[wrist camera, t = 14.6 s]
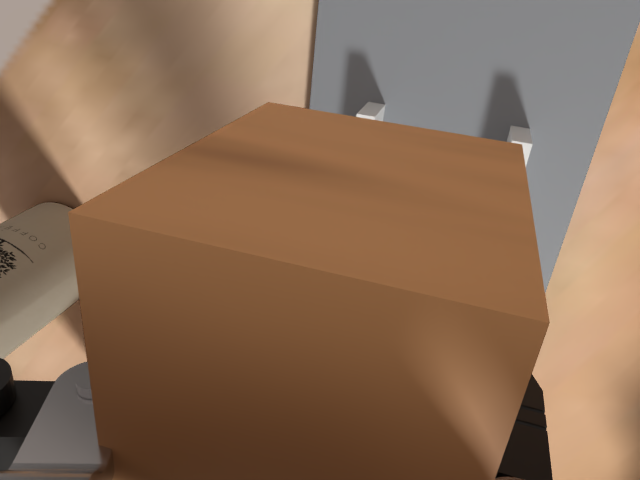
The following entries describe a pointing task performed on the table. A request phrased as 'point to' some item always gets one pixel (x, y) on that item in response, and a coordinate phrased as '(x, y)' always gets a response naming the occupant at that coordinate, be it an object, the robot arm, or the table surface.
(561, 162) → the channel
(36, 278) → the travel mug
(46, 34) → the table surface
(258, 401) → the block
